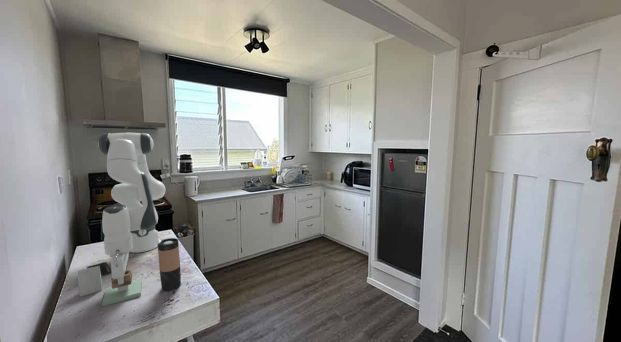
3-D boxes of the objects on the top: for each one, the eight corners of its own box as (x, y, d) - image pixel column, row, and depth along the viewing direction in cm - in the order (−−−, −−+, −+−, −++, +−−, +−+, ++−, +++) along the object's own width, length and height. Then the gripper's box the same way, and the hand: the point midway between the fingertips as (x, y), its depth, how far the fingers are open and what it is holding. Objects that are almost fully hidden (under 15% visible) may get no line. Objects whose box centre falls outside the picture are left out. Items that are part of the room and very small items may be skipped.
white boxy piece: (101, 290, 104) (99, 267, 103) (80, 296, 100) (77, 273, 99) (102, 286, 107) (99, 264, 106) (81, 292, 103) (78, 269, 102)
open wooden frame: (132, 277, 105) (131, 267, 105) (131, 284, 100) (130, 273, 100) (114, 281, 102) (113, 271, 102) (112, 288, 97) (111, 278, 97)
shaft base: (107, 290, 104) (105, 277, 103) (141, 281, 110) (140, 269, 109) (102, 306, 94) (100, 291, 93) (140, 295, 100) (139, 281, 99)
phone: (106, 261, 128) (111, 271, 117) (106, 263, 128) (111, 274, 118) (86, 267, 122) (89, 278, 112) (86, 269, 122) (89, 280, 112)
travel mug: (184, 286, 106) (180, 241, 104) (163, 294, 101) (160, 246, 99) (178, 279, 112) (175, 236, 110) (158, 286, 107) (155, 241, 104)
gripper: (126, 253, 92) (129, 288, 94) (130, 236, 110) (133, 266, 111) (104, 258, 89) (108, 294, 91) (112, 239, 106) (115, 270, 108)
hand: (122, 279), depth 101 cm, fingers closed on open wooden frame, 6 cm apart
